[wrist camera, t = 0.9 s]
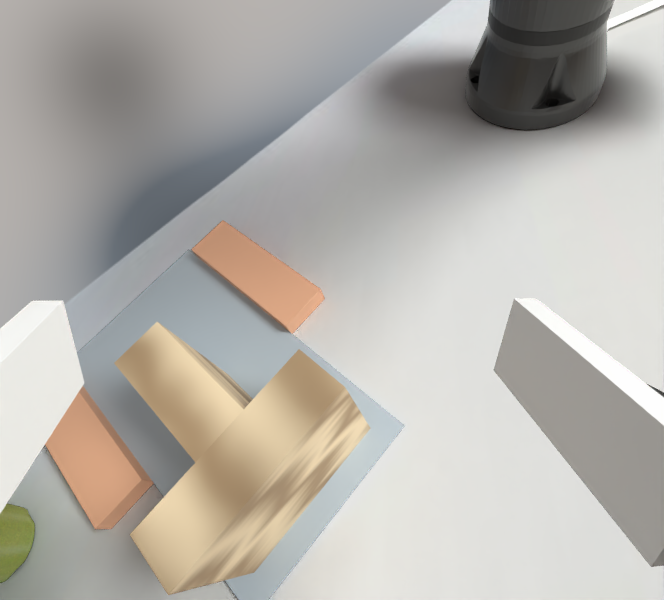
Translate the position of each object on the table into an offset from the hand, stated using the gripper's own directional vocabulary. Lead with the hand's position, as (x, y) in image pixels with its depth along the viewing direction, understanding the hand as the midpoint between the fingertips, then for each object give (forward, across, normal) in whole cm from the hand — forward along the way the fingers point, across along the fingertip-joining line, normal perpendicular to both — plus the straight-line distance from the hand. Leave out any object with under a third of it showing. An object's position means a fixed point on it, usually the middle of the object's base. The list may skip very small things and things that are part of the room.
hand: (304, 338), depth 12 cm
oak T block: (+17, -2, -21) cm, 27 cm away
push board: (+22, -6, -20) cm, 30 cm away
